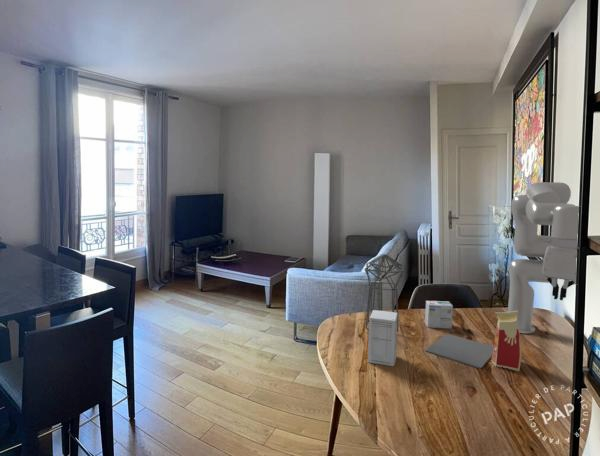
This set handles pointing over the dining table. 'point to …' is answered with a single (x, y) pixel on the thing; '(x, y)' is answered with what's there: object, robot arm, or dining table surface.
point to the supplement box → (382, 337)
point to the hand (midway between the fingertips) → (558, 298)
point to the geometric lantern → (384, 283)
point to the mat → (462, 350)
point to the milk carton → (507, 342)
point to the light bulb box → (438, 314)
